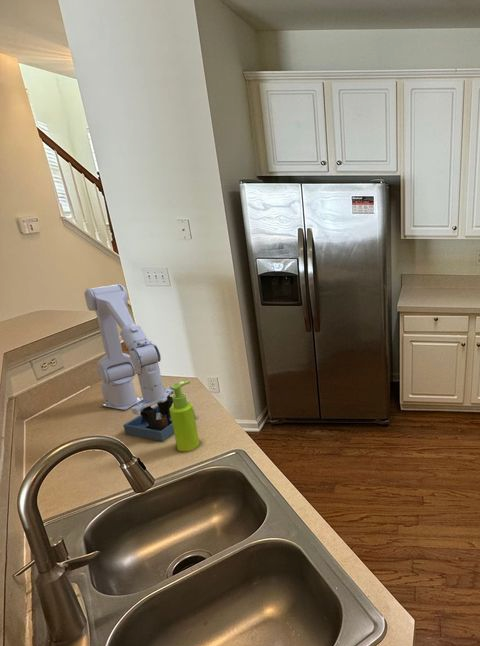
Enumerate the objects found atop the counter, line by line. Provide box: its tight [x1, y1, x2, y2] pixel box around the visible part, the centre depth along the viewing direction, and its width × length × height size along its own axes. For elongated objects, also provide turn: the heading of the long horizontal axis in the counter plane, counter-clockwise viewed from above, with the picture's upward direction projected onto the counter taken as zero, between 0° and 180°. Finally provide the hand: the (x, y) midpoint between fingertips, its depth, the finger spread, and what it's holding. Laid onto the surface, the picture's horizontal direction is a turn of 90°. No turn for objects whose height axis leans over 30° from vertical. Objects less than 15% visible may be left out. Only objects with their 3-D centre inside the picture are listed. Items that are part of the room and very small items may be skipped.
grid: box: [123, 404, 196, 442], centre depth 137 cm, size 14×14×3 cm
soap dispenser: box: [169, 380, 200, 452], centre depth 124 cm, size 6×7×20 cm
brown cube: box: [153, 413, 169, 431], centre depth 132 cm, size 4×4×4 cm
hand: (159, 423), depth 132 cm, fingers closed on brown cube, 4 cm apart
